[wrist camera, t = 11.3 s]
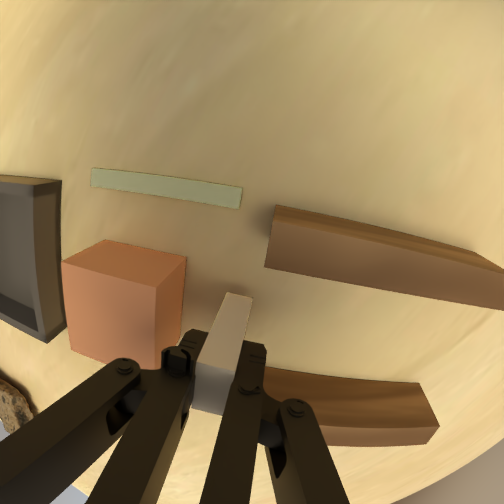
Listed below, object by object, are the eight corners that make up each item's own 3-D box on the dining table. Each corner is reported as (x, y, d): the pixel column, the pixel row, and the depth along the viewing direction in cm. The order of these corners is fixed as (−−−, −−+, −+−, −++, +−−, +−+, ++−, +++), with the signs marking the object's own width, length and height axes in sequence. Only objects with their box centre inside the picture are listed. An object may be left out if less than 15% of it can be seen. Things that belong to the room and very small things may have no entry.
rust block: (106, 239, 19) (60, 261, 14) (187, 256, 19) (156, 287, 14) (107, 315, 21) (71, 349, 16) (180, 336, 20) (155, 380, 16)
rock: (-21, 346, 26) (-41, 361, 22) (34, 387, 26) (14, 408, 21) (-3, 399, 29) (-18, 414, 25) (50, 437, 29) (36, 456, 25)
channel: (276, 204, 17) (272, 220, 12) (474, 252, 16) (517, 278, 11) (240, 382, 21) (229, 432, 16) (408, 401, 20) (426, 444, 15)
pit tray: (-9, 173, 18) (-33, 177, 15) (61, 180, 18) (33, 185, 15) (-1, 295, 22) (-20, 307, 19) (67, 326, 21) (47, 343, 18)
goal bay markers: (94, 167, 17) (91, 168, 17) (242, 187, 17) (242, 188, 17) (96, 347, 22) (94, 349, 21) (213, 382, 21) (212, 385, 21)
